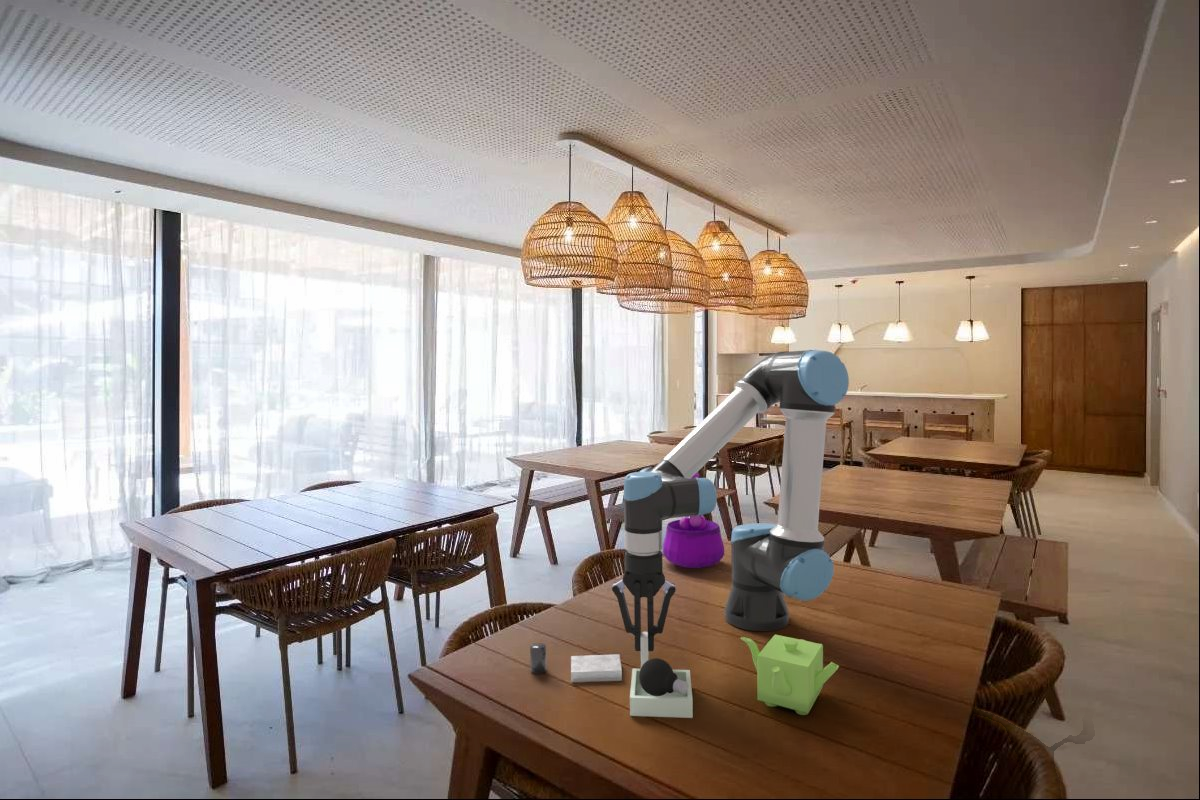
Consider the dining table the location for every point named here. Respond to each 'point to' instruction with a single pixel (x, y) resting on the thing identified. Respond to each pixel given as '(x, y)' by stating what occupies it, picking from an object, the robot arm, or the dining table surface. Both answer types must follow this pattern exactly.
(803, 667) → the kettle
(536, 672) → the cylinder
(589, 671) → the white stone flat block
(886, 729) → the dining table surface
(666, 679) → the light bulb
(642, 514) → the robot arm
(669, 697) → the tray
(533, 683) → the dining table surface
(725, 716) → the dining table surface
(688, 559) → the decorative plant
